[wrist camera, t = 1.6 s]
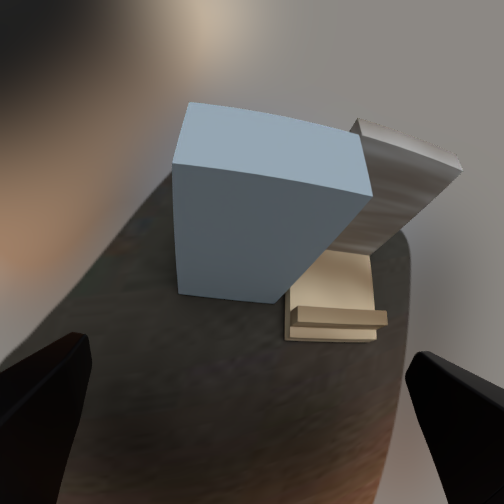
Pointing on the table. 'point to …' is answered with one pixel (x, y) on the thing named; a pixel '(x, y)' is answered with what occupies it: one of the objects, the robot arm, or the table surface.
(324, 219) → the book
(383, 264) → the table surface
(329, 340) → the book stand
